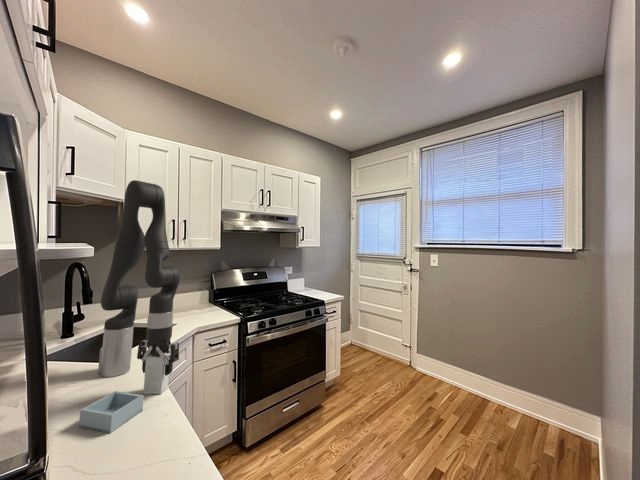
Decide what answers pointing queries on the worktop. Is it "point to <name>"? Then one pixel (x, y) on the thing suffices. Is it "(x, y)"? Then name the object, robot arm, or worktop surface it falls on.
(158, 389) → the skincare box
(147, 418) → the worktop surface
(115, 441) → the worktop surface
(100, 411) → the tray
